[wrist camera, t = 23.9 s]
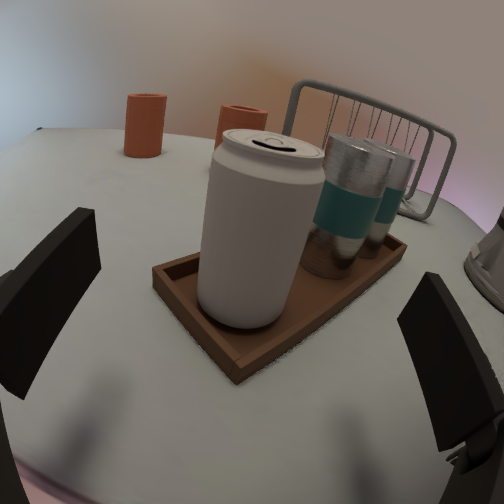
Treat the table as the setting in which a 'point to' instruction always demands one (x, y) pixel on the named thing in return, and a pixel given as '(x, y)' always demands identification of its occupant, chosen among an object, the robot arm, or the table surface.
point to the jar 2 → (239, 119)
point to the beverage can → (256, 224)
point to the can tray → (280, 330)
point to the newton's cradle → (383, 106)
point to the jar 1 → (144, 125)
